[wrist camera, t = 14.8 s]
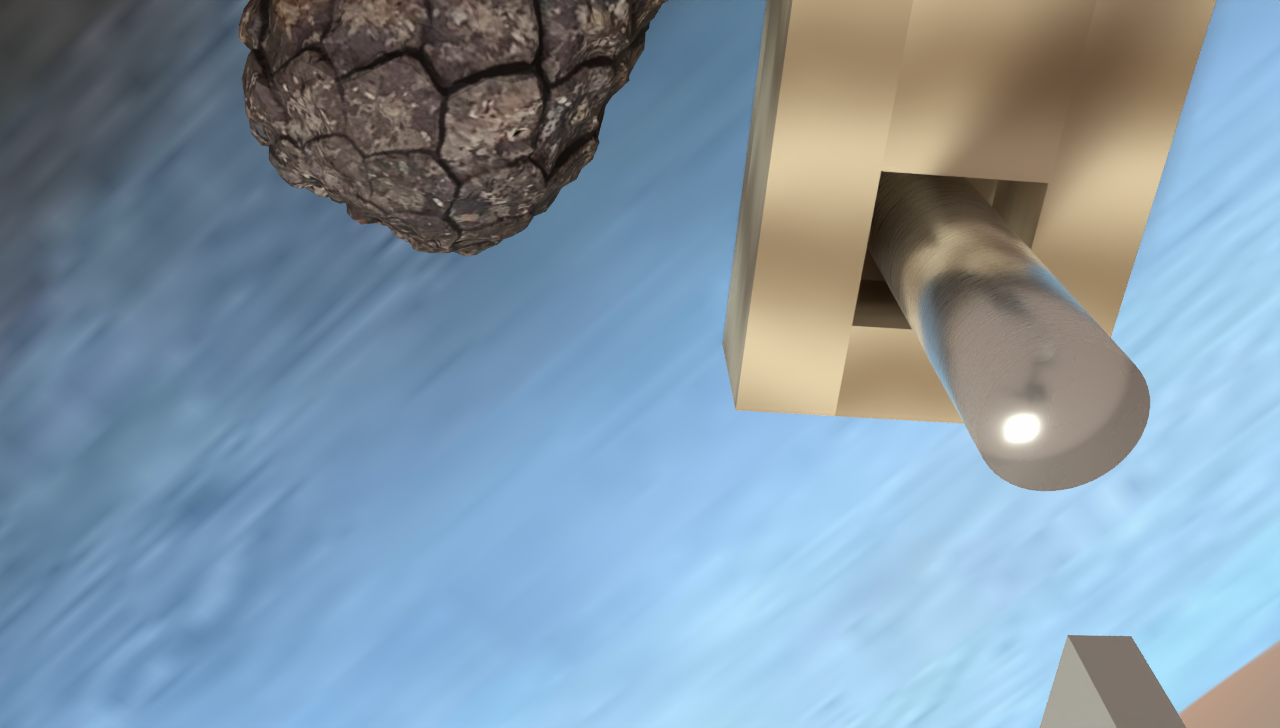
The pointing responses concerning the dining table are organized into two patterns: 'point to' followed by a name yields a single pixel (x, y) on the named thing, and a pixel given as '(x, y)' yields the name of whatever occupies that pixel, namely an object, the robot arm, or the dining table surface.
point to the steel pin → (1005, 336)
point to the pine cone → (437, 105)
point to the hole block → (938, 172)
